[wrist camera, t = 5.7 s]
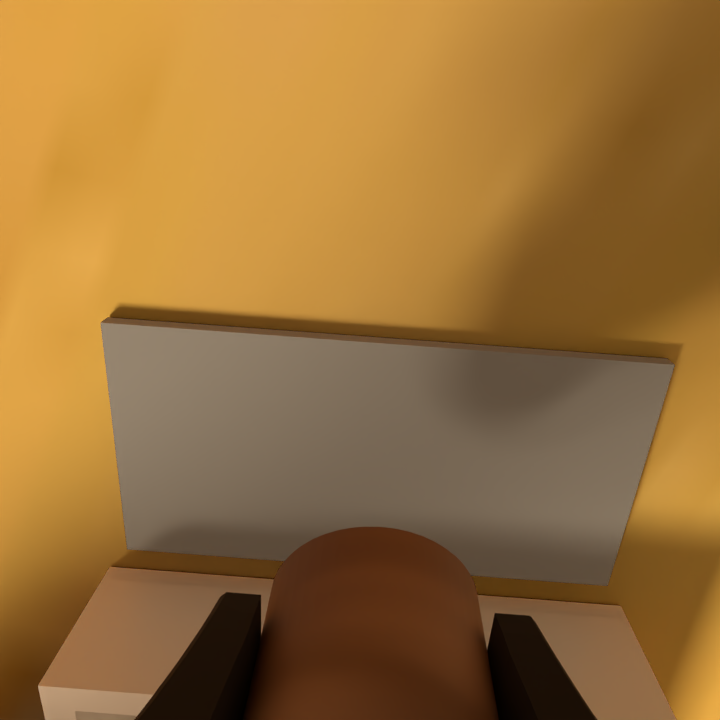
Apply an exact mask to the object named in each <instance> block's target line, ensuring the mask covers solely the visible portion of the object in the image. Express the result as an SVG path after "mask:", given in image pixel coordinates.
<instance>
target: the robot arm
mask: <svg viewBox="0 0 720 720" xmlns="http://www.w3.org/2000/svg"><path fill="white" fill-rule="evenodd" d="M260 639H261V595H258V594H245V593H232V592H226V593H224V594H223V595H222V596H220V598H219V599H218V601H217V603H216V604H215V606H214V608H213V609H212V611H211V613H210V614H209V616H208V617H207V619H206V621H205V622H204V624H203V625H202V627H201V628H200V630H199V631H198V633H197V634H196V636H195V637H194V639H193V640H192V642H191V643H190V645H189V646H188V648H187V649H186V651H185V652H184V653H183V655H182V656H181V658H180V659H179V661H178V662H177V664H176V665H175V666H174V668H173V669H172V670H171V672H170V673H169V674H168V676H167V677H166V678H165V680H164V681H163V682H162V684H161V685H160V686H159V688H158V689H157V691H156V692H155V693H154V695H153V696H152V697H151V699H150V700H149V701H148V703H147V704H146V705H145V707H144V708H143V709H142V710H141V712H140V713H139V714H138V715H137V717H136V718H135V719H134V720H243V716H244V711H245V707H246V702H247V698H248V694H249V689H250V685H251V680H252V675H253V671H254V666H255V662H256V657H257V653H258V648H259V644H260ZM487 653H488V659H489V665H490V670H491V676H492V682H493V688H494V694H495V700H496V705H497V711H498V717H499V720H597V718H596V717H595V716H594V714H593V713H592V711H591V710H590V708H589V707H588V705H587V704H586V702H585V701H584V699H583V698H582V696H581V695H580V693H579V691H578V690H577V688H576V687H575V685H574V684H573V682H572V681H571V679H570V677H569V676H568V674H567V673H566V671H565V670H564V668H563V666H562V665H561V663H560V662H559V660H558V658H557V657H556V655H555V654H554V652H553V650H552V649H551V647H550V645H549V644H548V642H547V640H546V639H545V637H544V635H543V634H542V632H541V630H540V629H539V627H538V625H537V624H536V622H535V621H534V620H533V618H532V617H531V616H528V615H515V614H502V613H495V615H494V619H493V624H492V629H491V634H490V638H489V643H488V648H487Z"/></svg>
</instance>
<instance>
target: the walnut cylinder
mask: <svg viewBox="0 0 720 720" xmlns="http://www.w3.org/2000/svg"><path fill="white" fill-rule="evenodd" d="M243 720H499V717H498V711H497V705H496V700H495V694H494V688H493V682H492V676H491V670H490V665H489V659H488V653H487V647H486V641H485V636H484V630H483V624H482V618H481V612H480V606H479V601H478V595H477V590H476V587H475V583H474V581H473V579H472V577H471V575H470V573H469V572H468V570H467V569H466V567H465V566H464V564H463V563H462V562H461V561H460V560H459V559H458V558H457V557H456V556H455V555H454V554H452V553H451V552H450V551H449V550H447V549H446V548H444V547H443V546H441V545H439V544H438V543H436V542H434V541H432V540H430V539H428V538H426V537H423V536H421V535H418V534H415V533H412V532H409V531H404V530H400V529H395V528H387V527H354V528H347V529H342V530H337V531H334V532H330V533H327V534H324V535H321V536H319V537H317V538H314V539H312V540H310V541H309V542H307V543H305V544H304V545H302V546H300V547H299V548H298V549H297V550H295V551H294V552H293V553H292V554H291V555H290V556H289V557H288V558H287V559H286V560H285V561H284V562H283V564H282V565H281V567H280V568H279V569H278V571H277V574H276V576H275V578H274V581H273V585H272V589H271V593H270V598H269V602H268V607H267V611H266V616H265V621H264V625H263V630H262V634H261V639H260V644H259V648H258V653H257V657H256V662H255V666H254V671H253V675H252V680H251V685H250V689H249V694H248V698H247V702H246V707H245V711H244V716H243Z"/></svg>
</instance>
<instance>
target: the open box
mask: <svg viewBox="0 0 720 720" xmlns="http://www.w3.org/2000/svg"><path fill="white" fill-rule="evenodd" d="M273 581H274V579H264V578H251V577H238V576H224V575H211V574H198V573H185V572H172V571H159V570H146V569H133V568H120V567H109V569H108V570H107V572H106V574H105V575H104V577H103V579H102V580H101V582H100V584H99V585H98V587H97V589H96V590H95V592H94V594H93V595H92V597H91V599H90V600H89V602H88V604H87V605H86V607H85V609H84V610H83V612H82V613H81V615H80V617H79V618H78V620H77V622H76V623H75V625H74V627H73V628H72V630H71V632H70V633H69V635H68V637H67V638H66V640H65V642H64V643H63V645H62V647H61V648H60V650H59V652H58V653H57V655H56V657H55V658H54V660H53V661H52V663H51V665H50V666H49V668H48V670H47V671H46V673H45V675H44V676H43V678H42V680H41V681H40V683H39V685H38V689H39V693H40V698H41V703H42V707H43V712H44V716H45V720H134V719H135V718H136V717H137V715H138V714H139V713H140V712H141V710H142V709H143V708H144V707H145V705H146V704H147V703H148V701H149V700H150V699H151V697H152V696H153V695H154V693H155V692H156V691H157V689H158V688H159V686H160V685H161V684H162V682H163V681H164V680H165V678H166V677H167V676H168V674H169V673H170V672H171V670H172V669H173V668H174V666H175V665H176V664H177V662H178V661H179V659H180V658H181V656H182V655H183V653H184V652H185V651H186V649H187V648H188V646H189V645H190V643H191V642H192V640H193V639H194V637H195V636H196V634H197V633H198V631H199V630H200V628H201V627H202V625H203V624H204V622H205V621H206V619H207V617H208V616H209V614H210V613H211V611H212V609H213V608H214V606H215V604H216V603H217V601H218V599H219V598H220V596H222V595H223V594H224V593H226V592H232V593H245V594H258V595H261V634H262V630H263V625H264V621H265V616H266V611H267V607H268V602H269V598H270V593H271V589H272V585H273ZM478 601H479V606H480V612H481V618H482V624H483V630H484V636H485V641H486V647H487V648H488V643H489V638H490V634H491V629H492V624H493V619H494V615H495V613H502V614H515V615H528V616H531V617H532V618H533V620H534V621H535V622H536V624H537V625H538V627H539V629H540V630H541V632H542V634H543V635H544V637H545V639H546V640H547V642H548V644H549V645H550V647H551V649H552V650H553V652H554V654H555V655H556V657H557V658H558V660H559V662H560V663H561V665H562V666H563V668H564V670H565V671H566V673H567V674H568V676H569V677H570V679H571V681H572V682H573V684H574V685H575V687H576V688H577V690H578V691H579V693H580V695H581V696H582V698H583V699H584V701H585V702H586V704H587V705H588V707H589V708H590V710H591V711H592V713H593V714H594V716H595V717H596V718H597V720H676V718H675V716H674V714H673V712H672V710H671V708H670V706H669V703H668V701H667V699H666V697H665V695H664V693H663V691H662V689H661V687H660V685H659V683H658V681H657V679H656V677H655V675H654V673H653V671H652V669H651V667H650V665H649V662H648V660H647V658H646V656H645V654H644V652H643V650H642V648H641V646H640V644H639V642H638V640H637V638H636V636H635V634H634V632H633V630H632V628H631V626H630V624H629V621H628V619H627V617H626V615H625V613H624V611H623V609H622V607H621V606H617V605H603V604H590V603H577V602H564V601H551V600H538V599H525V598H512V597H499V596H486V595H478Z"/></svg>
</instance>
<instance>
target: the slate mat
mask: <svg viewBox="0 0 720 720" xmlns="http://www.w3.org/2000/svg"><path fill="white" fill-rule="evenodd" d="M101 330H102V339H103V347H104V356H105V364H106V373H107V381H108V390H109V398H110V407H111V416H112V424H113V433H114V441H115V450H116V458H117V467H118V475H119V484H120V492H121V501H122V509H123V518H124V527H125V535H126V544H127V549H130V550H143V551H156V552H169V553H182V554H195V555H208V556H222V557H235V558H248V559H261V560H274V561H285V560H286V559H287V558H288V557H289V556H290V555H291V554H292V553H293V552H294V551H295V550H297V549H298V548H299V547H300V546H302V545H304V544H305V543H307V542H309V541H310V540H312V539H314V538H317V537H319V536H321V535H324V534H327V533H330V532H334V531H337V530H342V529H347V528H354V527H387V528H395V529H400V530H404V531H409V532H412V533H415V534H418V535H421V536H423V537H426V538H428V539H430V540H432V541H434V542H436V543H438V544H439V545H441V546H443V547H444V548H446V549H447V550H449V551H450V552H451V553H452V554H454V555H455V556H456V557H457V558H458V559H459V560H460V561H461V562H462V563H463V564H464V566H465V567H466V569H467V570H468V572H469V573H470V575H471V576H484V577H497V578H510V579H523V580H536V581H549V582H562V583H575V584H589V585H602V586H608V583H609V580H610V577H611V573H612V570H613V567H614V563H615V560H616V557H617V554H618V550H619V547H620V544H621V540H622V537H623V534H624V531H625V527H626V524H627V521H628V517H629V514H630V511H631V508H632V504H633V501H634V498H635V494H636V491H637V488H638V485H639V481H640V478H641V475H642V471H643V468H644V465H645V461H646V458H647V455H648V452H649V448H650V445H651V442H652V438H653V435H654V432H655V429H656V425H657V422H658V419H659V415H660V412H661V409H662V406H663V402H664V399H665V396H666V392H667V389H668V386H669V383H670V379H671V376H672V373H673V369H674V366H675V365H674V364H673V363H672V362H671V361H670V360H669V359H667V358H654V357H640V356H626V355H613V354H599V353H586V352H572V351H558V350H545V349H531V348H518V347H504V346H490V345H477V344H463V343H450V342H436V341H422V340H409V339H395V338H382V337H368V336H354V335H341V334H327V333H314V332H300V331H286V330H273V329H259V328H245V327H232V326H218V325H205V324H191V323H177V322H164V321H150V320H137V319H123V318H109V317H108V318H106V319H105V320H104V321H102V322H101Z"/></svg>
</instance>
